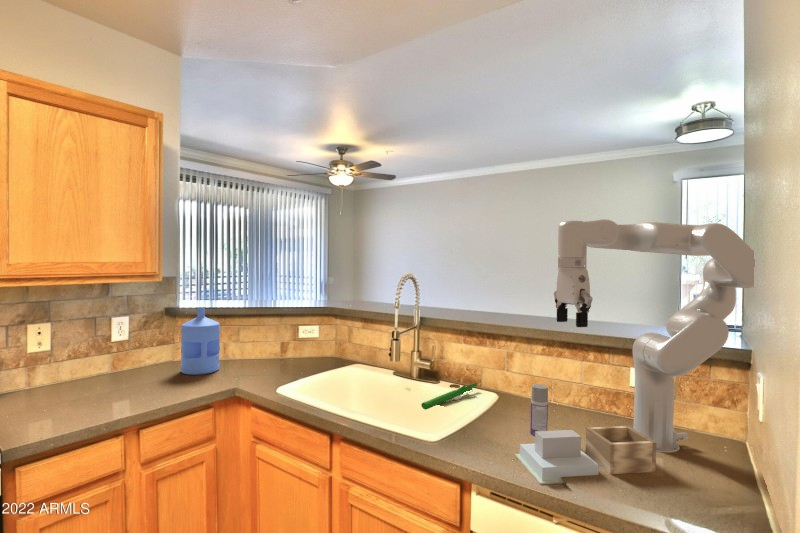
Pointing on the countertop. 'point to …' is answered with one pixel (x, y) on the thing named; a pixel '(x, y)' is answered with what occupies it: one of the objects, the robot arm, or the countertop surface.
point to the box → (620, 449)
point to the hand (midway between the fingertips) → (571, 324)
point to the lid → (558, 455)
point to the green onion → (447, 396)
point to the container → (539, 408)
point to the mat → (537, 475)
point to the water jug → (200, 345)
